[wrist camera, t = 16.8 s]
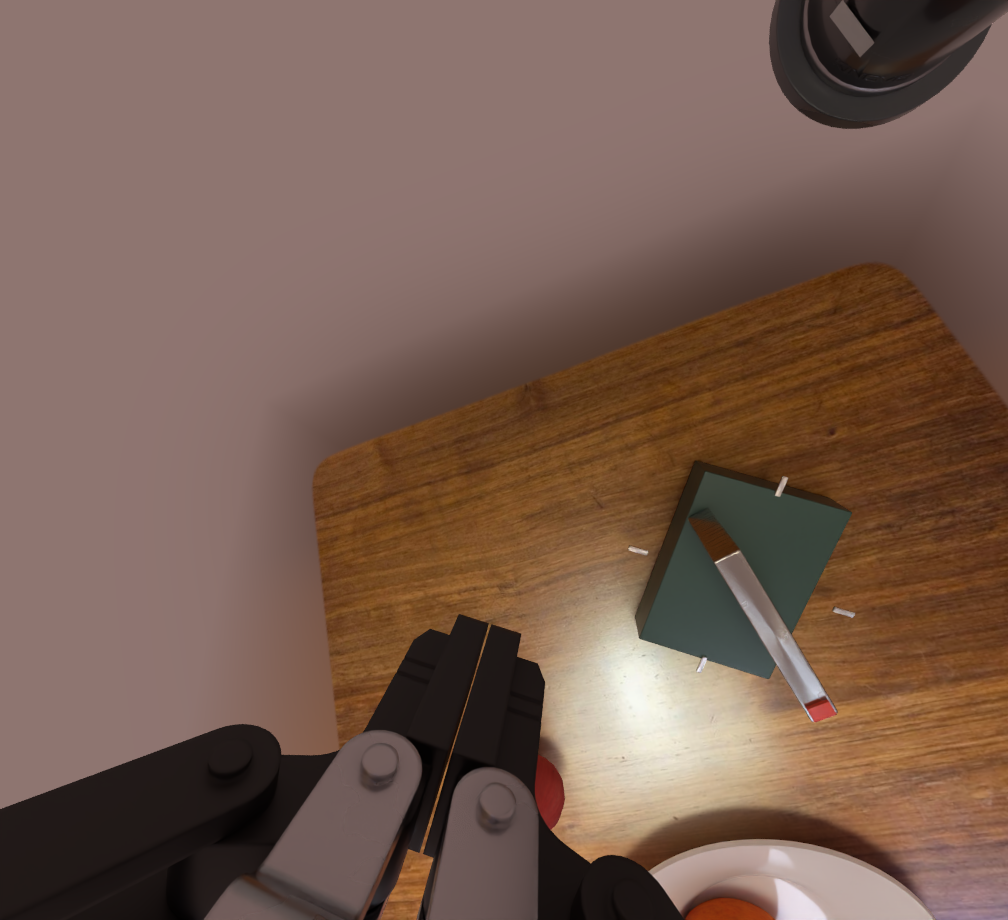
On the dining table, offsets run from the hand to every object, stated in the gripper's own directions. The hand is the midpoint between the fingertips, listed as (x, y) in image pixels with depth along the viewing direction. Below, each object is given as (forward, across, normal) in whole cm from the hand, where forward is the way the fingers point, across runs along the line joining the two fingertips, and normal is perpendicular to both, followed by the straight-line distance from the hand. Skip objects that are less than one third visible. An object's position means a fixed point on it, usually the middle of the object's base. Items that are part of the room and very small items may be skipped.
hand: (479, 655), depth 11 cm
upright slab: (+24, -16, +6) cm, 29 cm away
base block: (+27, -16, +6) cm, 32 cm away
